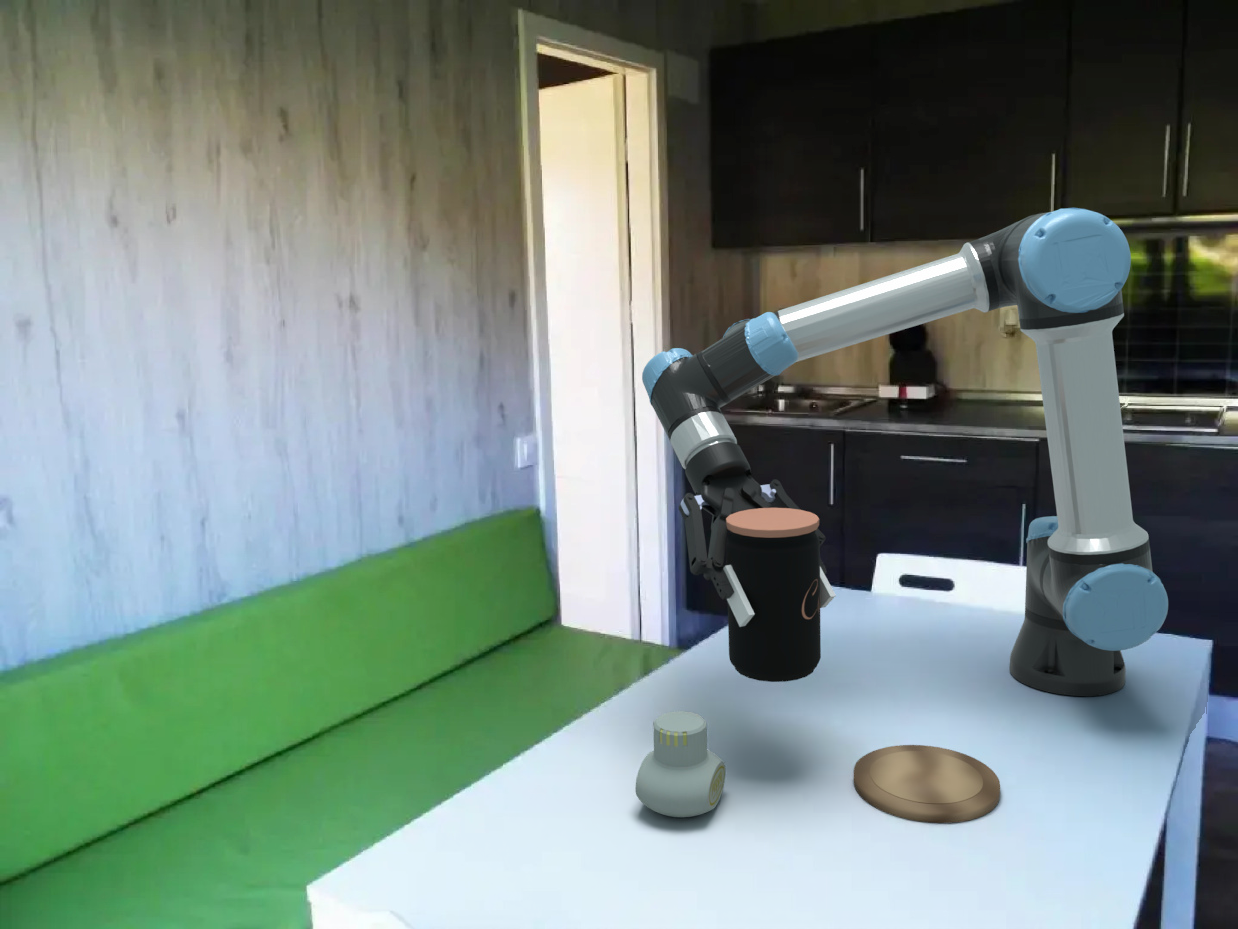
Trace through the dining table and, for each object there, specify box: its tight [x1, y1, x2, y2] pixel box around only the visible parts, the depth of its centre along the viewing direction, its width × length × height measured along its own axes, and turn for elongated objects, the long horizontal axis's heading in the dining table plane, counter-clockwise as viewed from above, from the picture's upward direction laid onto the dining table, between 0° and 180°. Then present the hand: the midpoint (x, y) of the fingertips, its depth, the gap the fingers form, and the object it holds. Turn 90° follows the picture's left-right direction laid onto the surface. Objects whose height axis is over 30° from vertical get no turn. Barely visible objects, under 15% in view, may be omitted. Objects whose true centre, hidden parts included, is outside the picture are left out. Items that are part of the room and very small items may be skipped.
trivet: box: [853, 744, 1001, 824], centre depth 120 cm, size 16×16×1 cm
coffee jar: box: [725, 508, 822, 683], centre depth 122 cm, size 11×11×18 cm
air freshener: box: [635, 710, 726, 818], centre depth 117 cm, size 11×8×10 cm
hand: (788, 611), depth 120 cm, fingers closed on coffee jar, 11 cm apart
